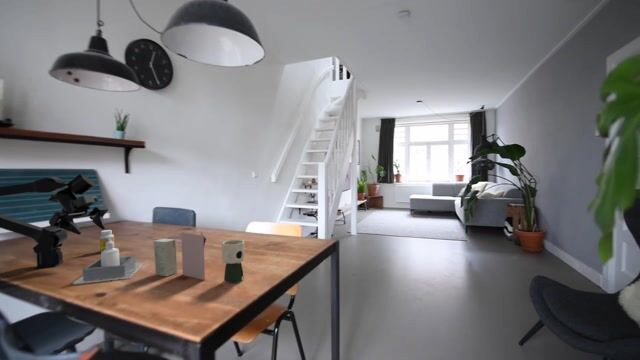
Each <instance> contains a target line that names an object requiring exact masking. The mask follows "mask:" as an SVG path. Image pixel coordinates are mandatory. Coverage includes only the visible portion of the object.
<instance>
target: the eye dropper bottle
mask: <svg viewBox="0 0 640 360" xmlns="http://www.w3.org/2000/svg"><path fill="white" fill-rule="evenodd" d="M114 246H115V241H114V242H112V241H111V239H108V242H107V243H106V250H104V251H103V252H100V259H101V267H106V266H117V265H120V260H119V257H120V250H119V248H118V247H117V248H116V247H115V248H114Z"/></svg>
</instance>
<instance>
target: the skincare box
mask: <svg viewBox="0 0 640 360" xmlns="http://www.w3.org/2000/svg"><path fill="white" fill-rule="evenodd" d="M176 242H177V241H176V239H173V238H160V239H156V240H154V241H153V248H154V249H153V251H154V270H155V275H157V276H161V277H169V276H172V275H174V274H177V273H178V267H177V266H178V265H177V264H178V263H177V246H176V245H177V243H176Z"/></svg>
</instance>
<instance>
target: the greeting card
mask: <svg viewBox="0 0 640 360" xmlns="http://www.w3.org/2000/svg"><path fill="white" fill-rule="evenodd" d="M206 241H207V238H206V237H205V236H204V233H203V231H202V229H201V230H200V235H199V234H193V233H187V232H181V258H182V259H181V260H182V261H181V263H182V267H181V268H182V276H186V277H190V278H195V279H199V280H201V281H205V280H206V279H205V278H206V277H205V275H206V274H205V272H206V271H205V245H206Z"/></svg>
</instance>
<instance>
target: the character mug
mask: <svg viewBox="0 0 640 360" xmlns="http://www.w3.org/2000/svg"><path fill="white" fill-rule="evenodd" d="M221 257H222V259H221V261H222V263H224V264H225V266H224V276H223V281H225V282H228V283H238V282H241V281H243V279H244V278H245V277H244V270H243V265H242V262H244V260H245V258H246V256H245V241H244V240H242V239H229V240H225V241H223V242H222V243H221Z"/></svg>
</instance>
